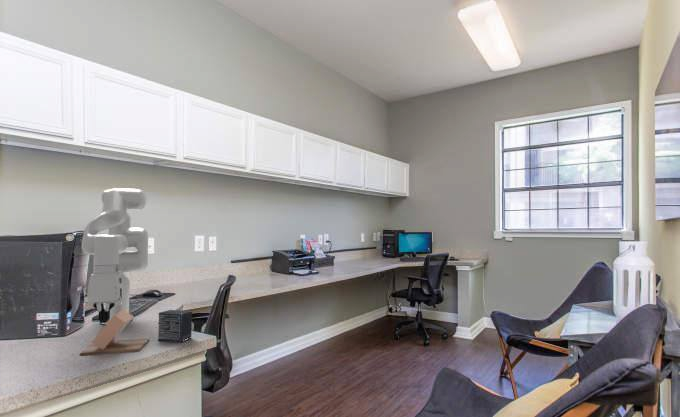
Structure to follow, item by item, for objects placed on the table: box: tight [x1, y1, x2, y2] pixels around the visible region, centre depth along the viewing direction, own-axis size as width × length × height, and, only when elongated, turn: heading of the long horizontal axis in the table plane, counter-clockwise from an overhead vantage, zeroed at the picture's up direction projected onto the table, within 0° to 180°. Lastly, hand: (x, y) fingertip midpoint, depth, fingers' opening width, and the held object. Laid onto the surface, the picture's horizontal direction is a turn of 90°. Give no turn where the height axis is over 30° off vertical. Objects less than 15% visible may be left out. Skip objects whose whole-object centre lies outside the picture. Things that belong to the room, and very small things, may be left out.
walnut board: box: [79, 338, 150, 356], centre depth 129 cm, size 12×18×1 cm, turn 103°
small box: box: [157, 309, 193, 343], centre depth 139 cm, size 11×6×10 cm, turn 74°
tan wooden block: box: [91, 310, 135, 350], centre depth 129 cm, size 9×4×11 cm
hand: (104, 322), depth 128 cm, fingers closed
